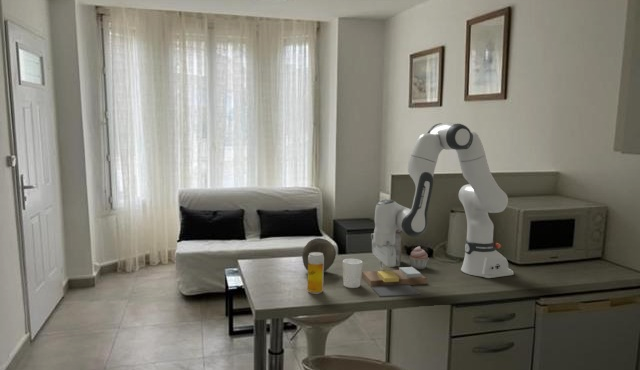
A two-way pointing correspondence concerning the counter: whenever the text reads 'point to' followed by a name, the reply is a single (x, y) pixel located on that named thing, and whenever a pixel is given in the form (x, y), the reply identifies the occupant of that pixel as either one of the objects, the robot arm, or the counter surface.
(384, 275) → the card mustard
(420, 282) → the brown wooden flat block
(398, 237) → the coffee box
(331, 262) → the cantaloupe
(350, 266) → the white cup
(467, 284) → the counter surface
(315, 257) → the pill bottle
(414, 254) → the cupcake
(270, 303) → the counter surface
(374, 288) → the mat
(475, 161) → the robot arm
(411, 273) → the grey flat block
